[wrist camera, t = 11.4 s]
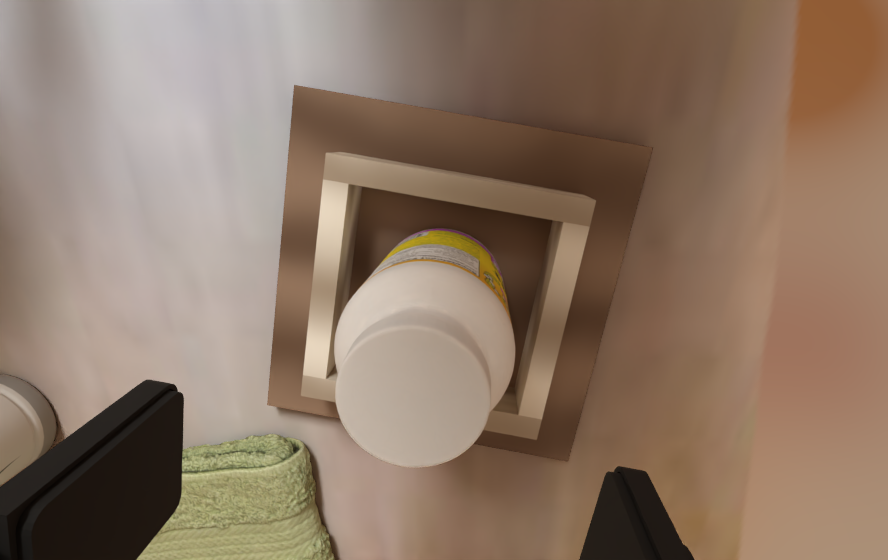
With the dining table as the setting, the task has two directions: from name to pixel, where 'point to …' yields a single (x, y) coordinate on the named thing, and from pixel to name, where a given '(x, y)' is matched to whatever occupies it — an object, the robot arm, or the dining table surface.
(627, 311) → the dining table surface
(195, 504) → the washcloth
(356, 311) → the supplement bottle
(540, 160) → the collar dock
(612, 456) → the dining table surface
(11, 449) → the travel mug
